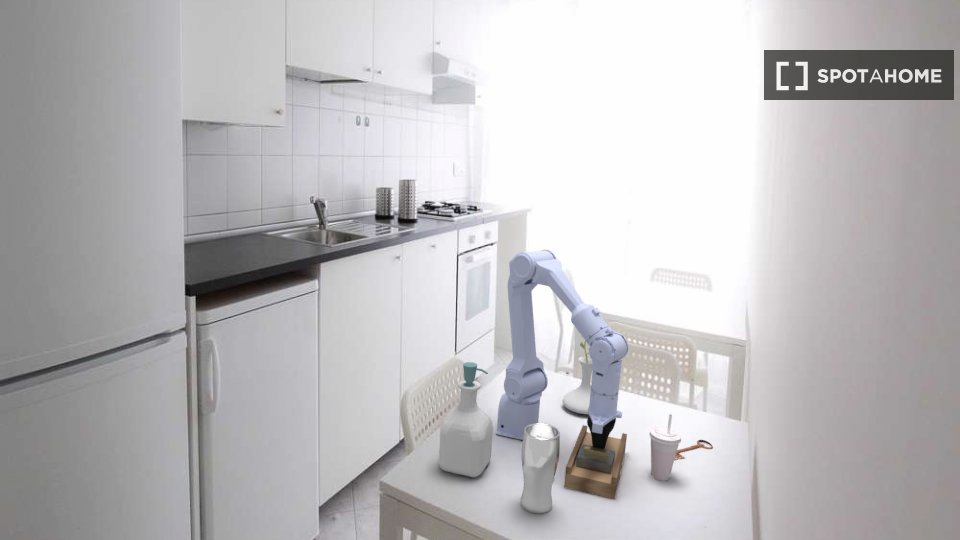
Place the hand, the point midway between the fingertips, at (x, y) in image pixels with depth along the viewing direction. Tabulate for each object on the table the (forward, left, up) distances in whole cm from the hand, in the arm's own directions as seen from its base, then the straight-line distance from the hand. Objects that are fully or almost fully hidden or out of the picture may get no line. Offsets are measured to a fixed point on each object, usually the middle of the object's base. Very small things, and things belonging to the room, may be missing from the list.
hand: (598, 450), depth 122 cm
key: (+19, +17, -5) cm, 26 cm away
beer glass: (-9, -19, -4) cm, 21 cm away
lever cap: (0, -4, -1) cm, 4 cm away
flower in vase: (-8, +30, -4) cm, 31 cm away
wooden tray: (0, 0, -4) cm, 4 cm away
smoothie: (+13, +3, -4) cm, 14 cm away
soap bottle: (-26, -11, -4) cm, 29 cm away
